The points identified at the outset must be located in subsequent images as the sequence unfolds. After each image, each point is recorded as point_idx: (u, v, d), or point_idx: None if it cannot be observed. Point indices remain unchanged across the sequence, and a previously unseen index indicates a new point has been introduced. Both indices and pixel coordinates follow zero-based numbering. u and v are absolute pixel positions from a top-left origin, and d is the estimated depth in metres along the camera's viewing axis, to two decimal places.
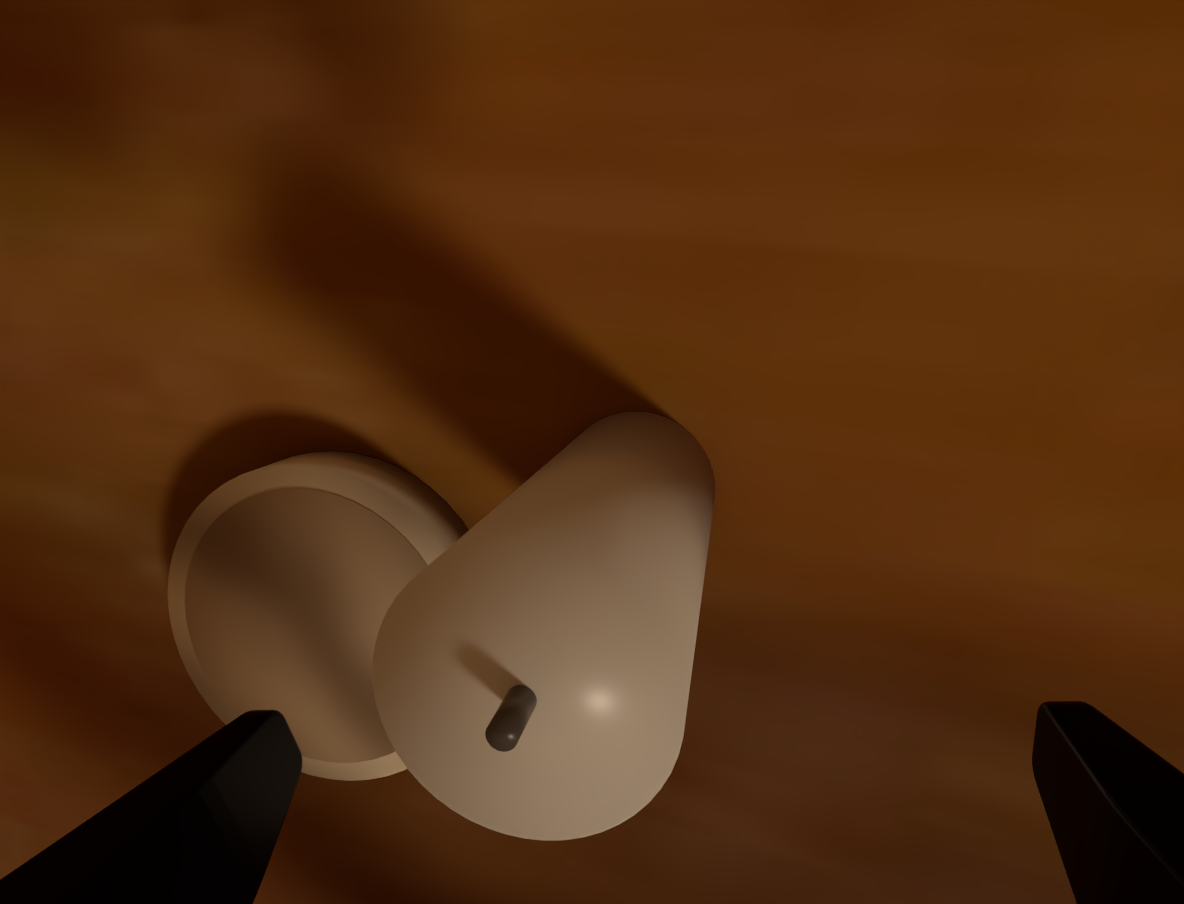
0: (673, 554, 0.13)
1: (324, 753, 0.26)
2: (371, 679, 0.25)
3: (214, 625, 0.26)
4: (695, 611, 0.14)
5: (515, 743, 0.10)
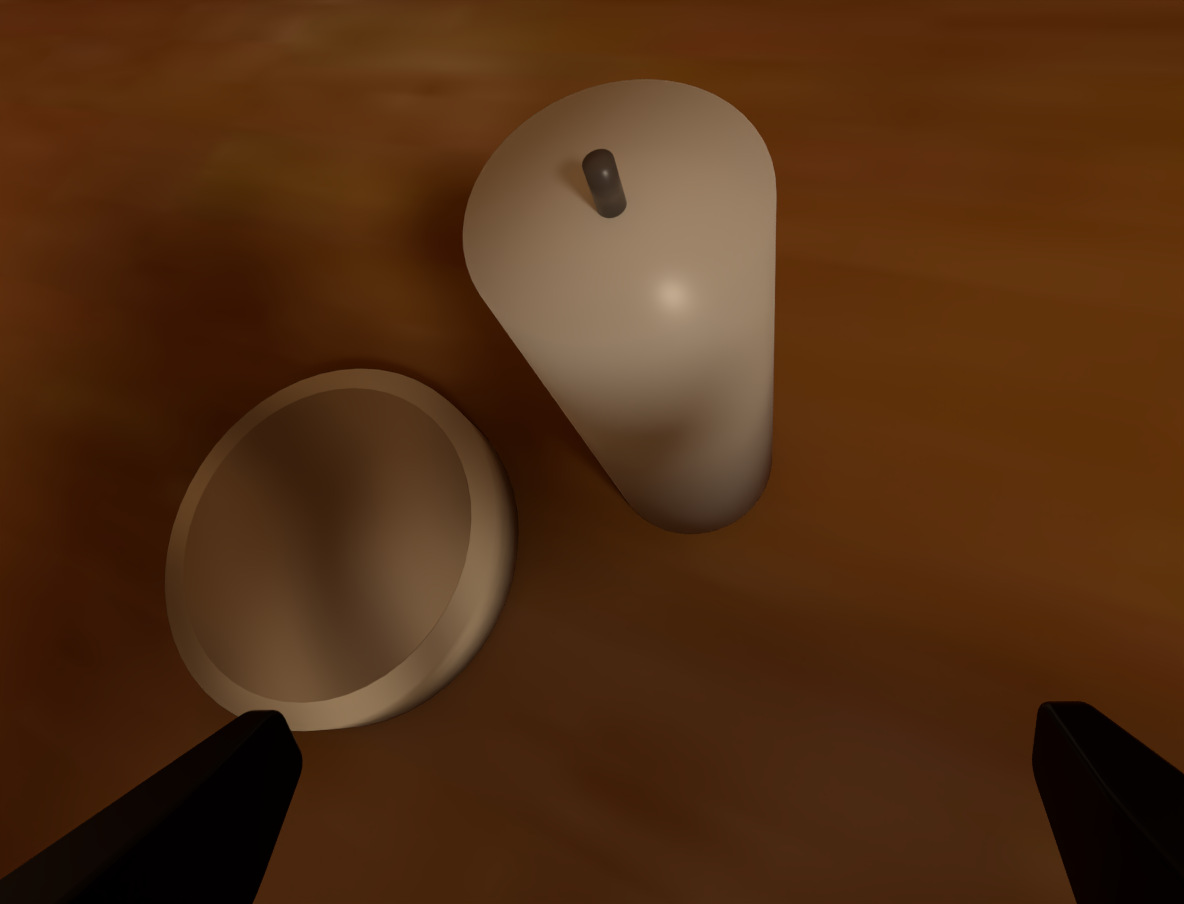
0: None
1: (267, 688, 0.22)
2: (359, 596, 0.22)
3: (220, 518, 0.24)
4: (774, 291, 0.14)
5: (610, 166, 0.10)
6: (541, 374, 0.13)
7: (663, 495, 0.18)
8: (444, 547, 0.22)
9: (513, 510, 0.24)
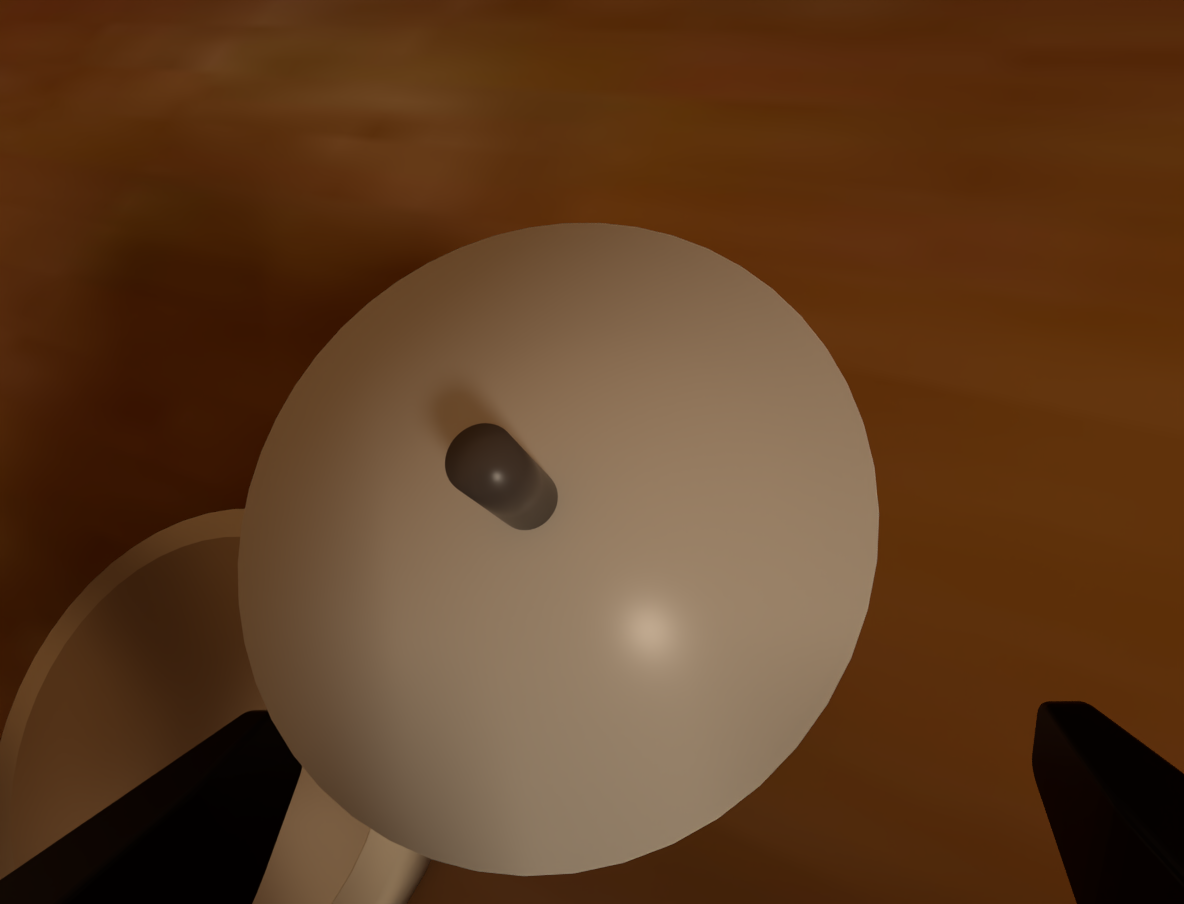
0: None
1: None
2: None
3: (66, 712, 0.18)
4: None
5: (506, 473, 0.05)
6: None
7: None
8: None
9: None
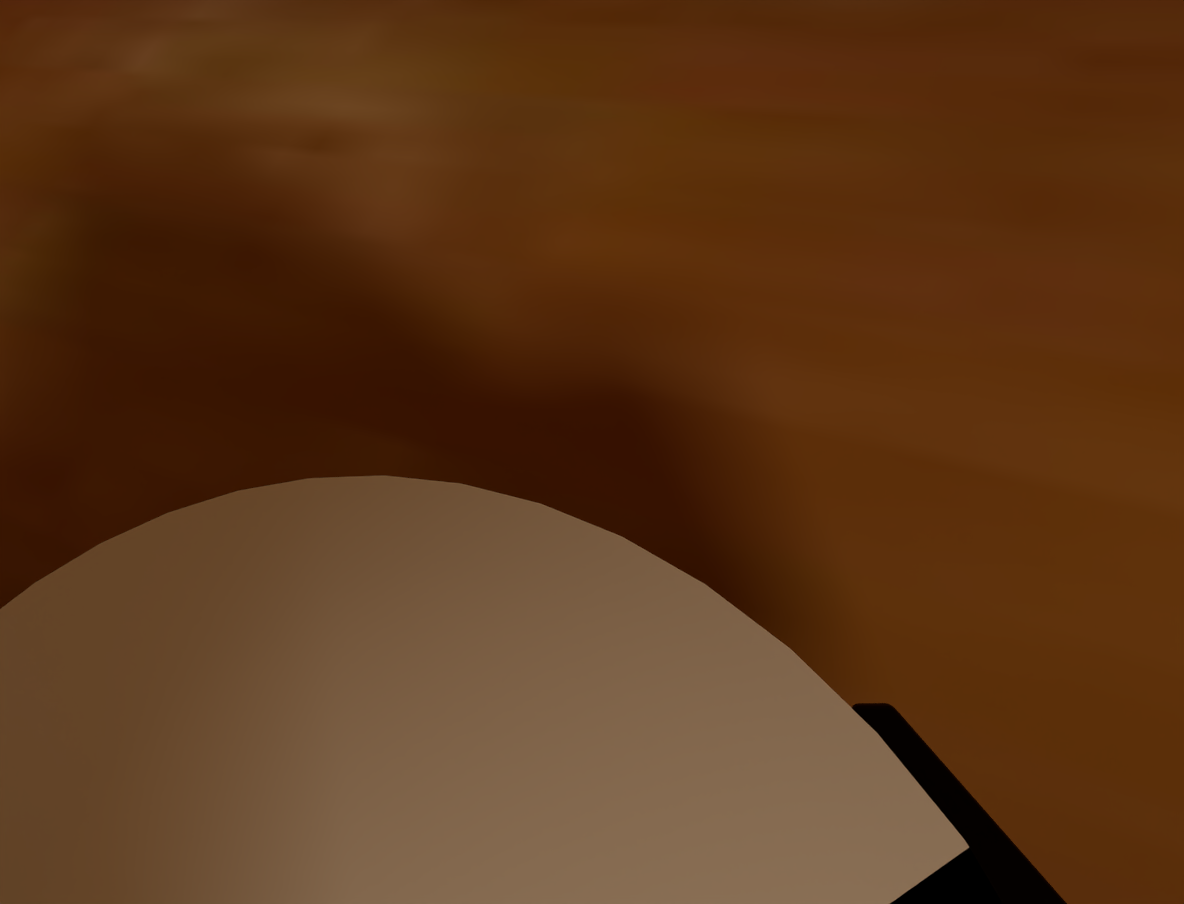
0: None
1: None
2: None
3: None
4: None
5: None
6: None
7: None
8: None
9: None
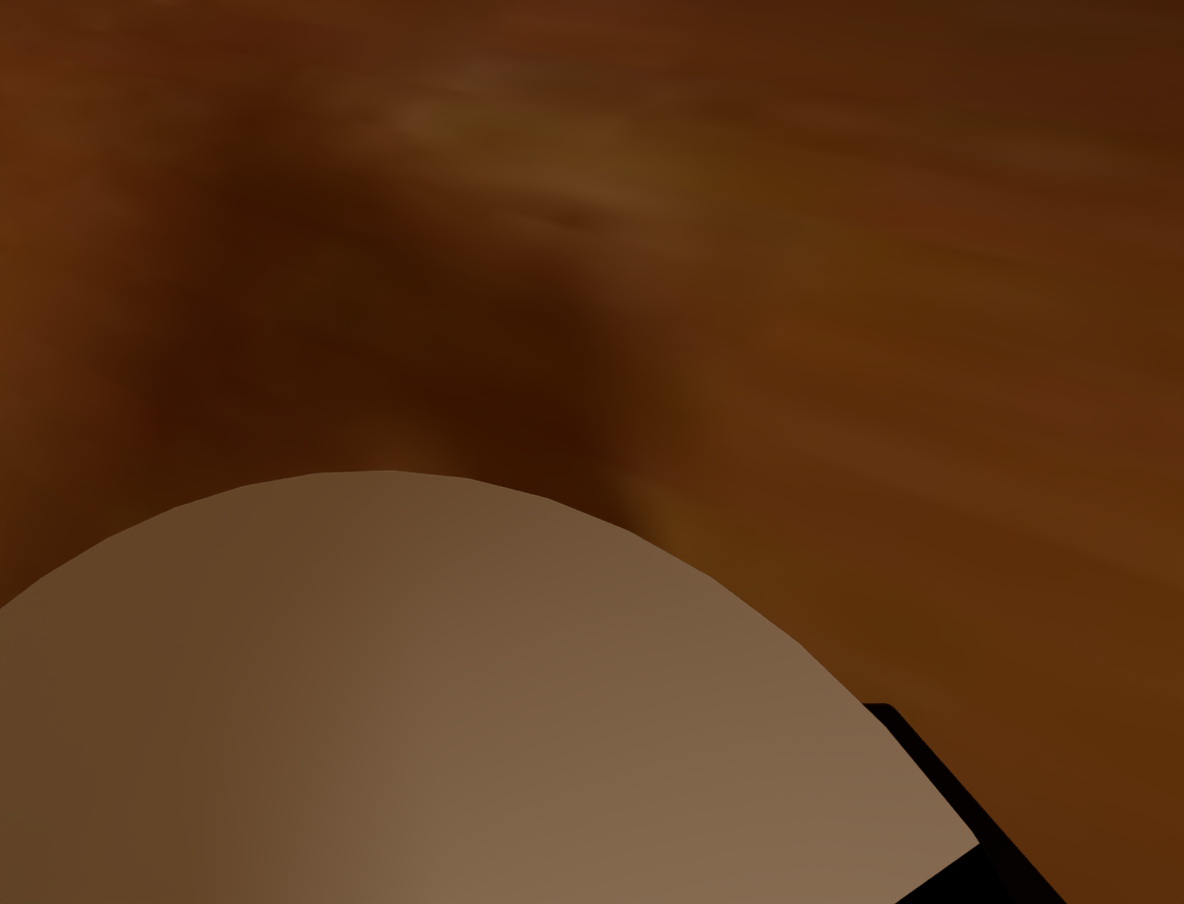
0: None
1: None
2: None
3: None
4: None
5: None
6: None
7: None
8: None
9: None
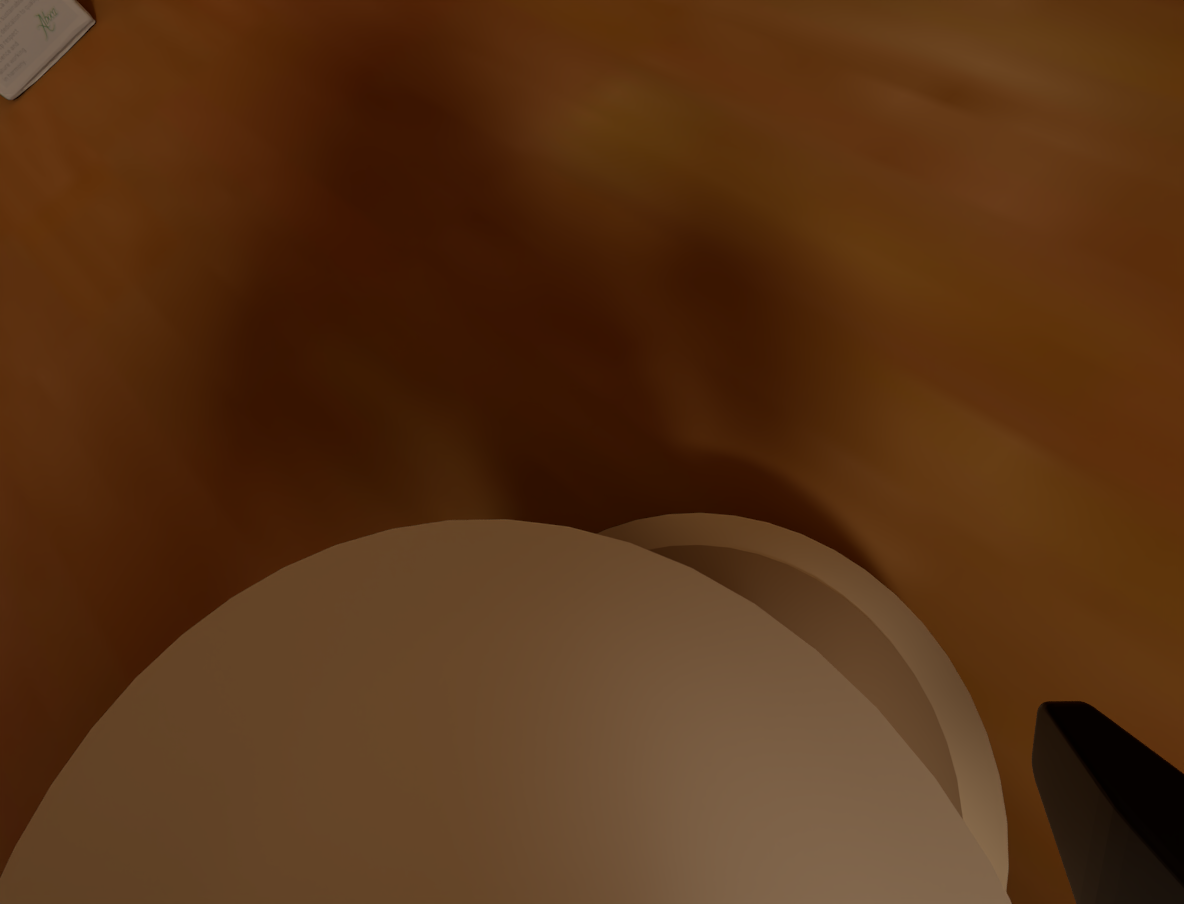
0: None
1: None
2: None
3: None
4: None
5: None
6: None
7: None
8: None
9: None
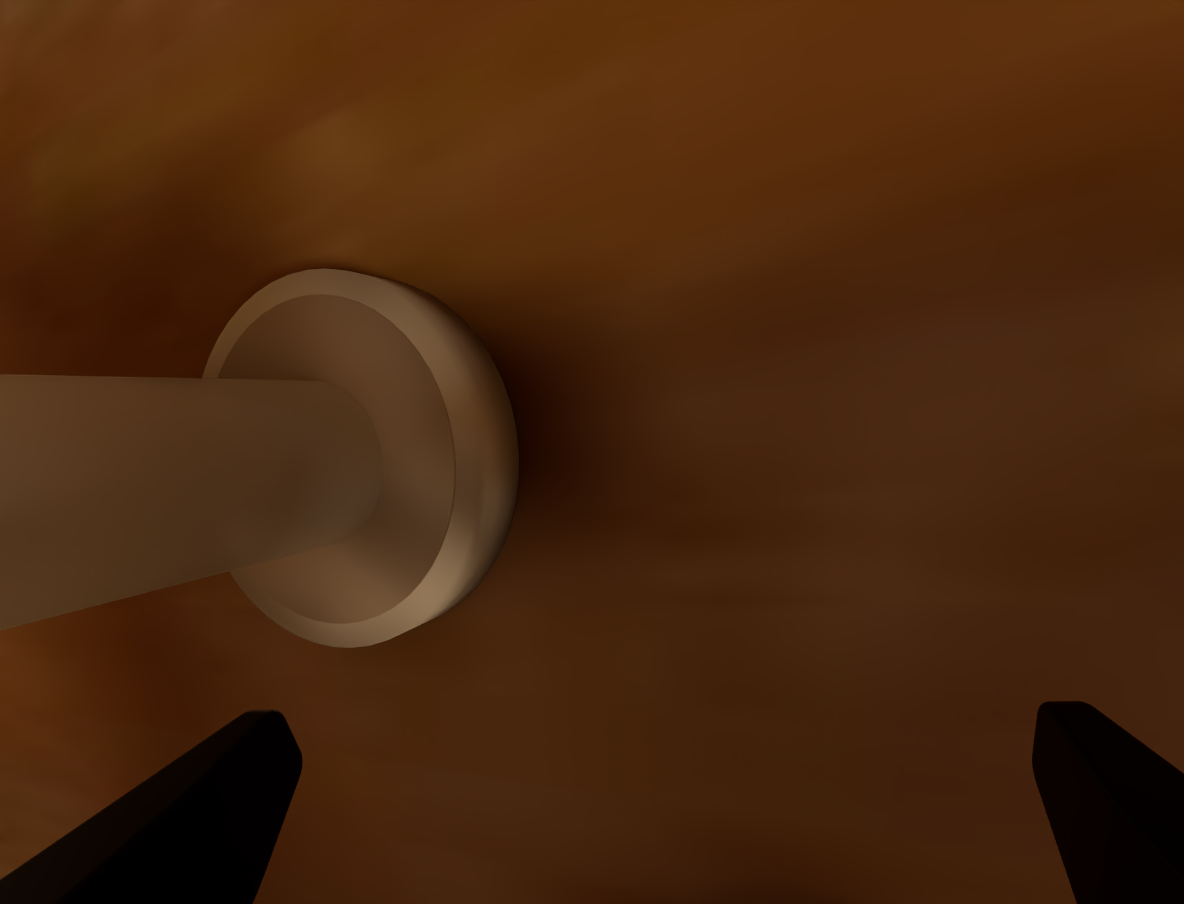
0: None
1: (358, 613, 0.22)
2: (380, 495, 0.21)
3: None
4: None
5: None
6: None
7: (232, 557, 0.18)
8: (421, 408, 0.21)
9: (472, 337, 0.22)
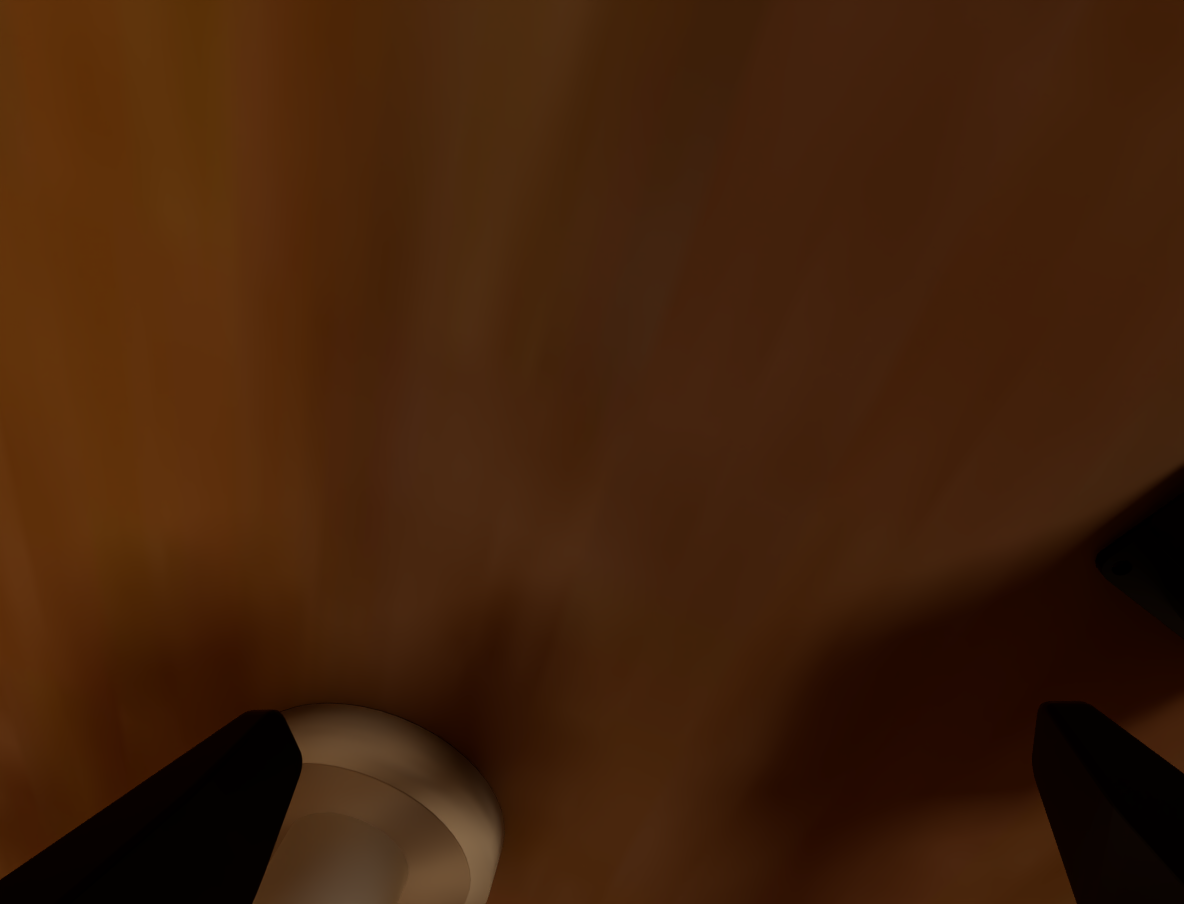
0: None
1: (464, 881, 0.28)
2: (382, 831, 0.28)
3: None
4: None
5: None
6: None
7: None
8: (330, 779, 0.27)
9: (305, 711, 0.28)
